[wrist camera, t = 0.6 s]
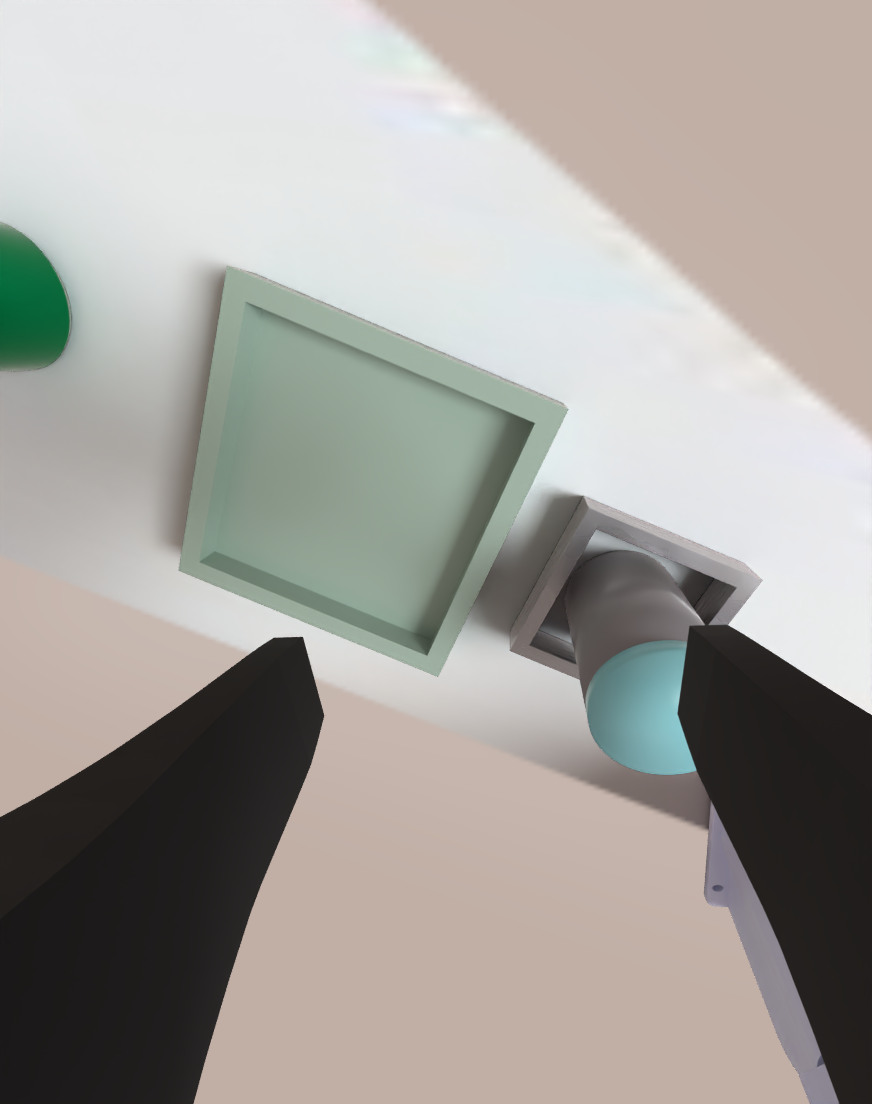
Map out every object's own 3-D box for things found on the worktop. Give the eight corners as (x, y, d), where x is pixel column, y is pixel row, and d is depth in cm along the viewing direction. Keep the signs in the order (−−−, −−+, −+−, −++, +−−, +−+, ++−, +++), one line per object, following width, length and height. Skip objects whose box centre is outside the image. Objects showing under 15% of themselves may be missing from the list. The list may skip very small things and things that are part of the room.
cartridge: (674, 641, 20) (747, 775, 14) (567, 646, 21) (591, 774, 15) (677, 545, 19) (761, 648, 12) (561, 555, 20) (585, 656, 13)
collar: (744, 563, 19) (762, 580, 17) (649, 689, 22) (659, 712, 20) (583, 496, 19) (589, 507, 17) (509, 631, 21) (509, 650, 20)
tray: (563, 403, 17) (568, 409, 16) (443, 652, 22) (438, 676, 21) (254, 273, 17) (226, 265, 16) (203, 553, 22) (178, 570, 21)
